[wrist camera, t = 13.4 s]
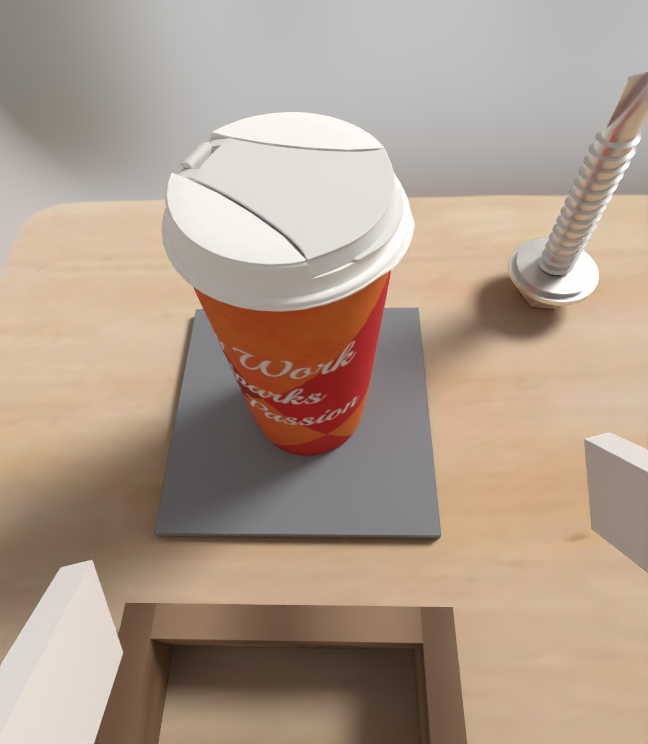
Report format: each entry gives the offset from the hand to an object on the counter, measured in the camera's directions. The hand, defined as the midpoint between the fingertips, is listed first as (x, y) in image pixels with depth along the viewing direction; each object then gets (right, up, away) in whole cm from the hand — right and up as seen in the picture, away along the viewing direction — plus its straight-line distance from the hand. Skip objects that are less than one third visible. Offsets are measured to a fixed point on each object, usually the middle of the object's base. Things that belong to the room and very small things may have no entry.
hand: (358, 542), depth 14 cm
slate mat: (-2, +2, +14) cm, 14 cm away
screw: (+12, +9, +18) cm, 23 cm away
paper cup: (-2, +3, +14) cm, 14 cm away
